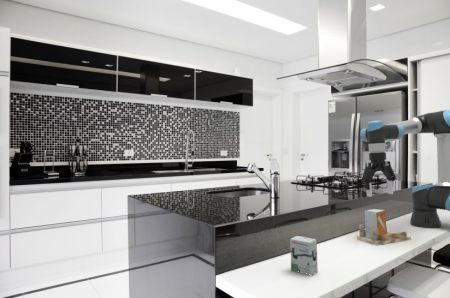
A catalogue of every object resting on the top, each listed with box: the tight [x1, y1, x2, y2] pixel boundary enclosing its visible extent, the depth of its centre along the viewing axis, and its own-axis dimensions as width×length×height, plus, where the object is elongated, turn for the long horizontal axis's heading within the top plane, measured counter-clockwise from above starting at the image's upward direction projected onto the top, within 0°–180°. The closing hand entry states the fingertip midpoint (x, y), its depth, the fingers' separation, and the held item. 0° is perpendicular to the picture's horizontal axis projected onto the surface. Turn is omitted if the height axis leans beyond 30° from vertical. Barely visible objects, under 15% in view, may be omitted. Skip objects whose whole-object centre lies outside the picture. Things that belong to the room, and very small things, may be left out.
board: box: [356, 223, 412, 246], centre depth 152 cm, size 22×12×8 cm, turn 111°
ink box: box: [289, 235, 319, 276], centre depth 113 cm, size 9×5×12 cm, turn 45°
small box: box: [364, 208, 388, 239], centre depth 150 cm, size 8×6×13 cm
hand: (380, 195), depth 152 cm, fingers open, 13 cm apart
